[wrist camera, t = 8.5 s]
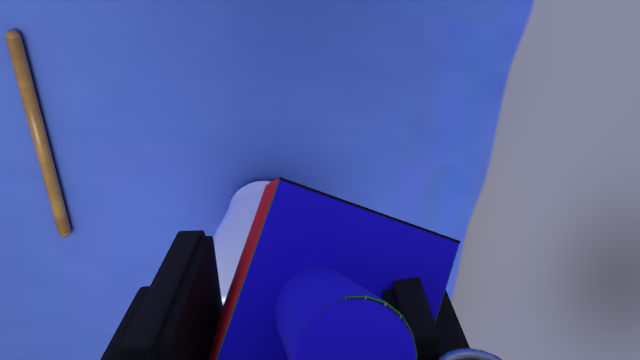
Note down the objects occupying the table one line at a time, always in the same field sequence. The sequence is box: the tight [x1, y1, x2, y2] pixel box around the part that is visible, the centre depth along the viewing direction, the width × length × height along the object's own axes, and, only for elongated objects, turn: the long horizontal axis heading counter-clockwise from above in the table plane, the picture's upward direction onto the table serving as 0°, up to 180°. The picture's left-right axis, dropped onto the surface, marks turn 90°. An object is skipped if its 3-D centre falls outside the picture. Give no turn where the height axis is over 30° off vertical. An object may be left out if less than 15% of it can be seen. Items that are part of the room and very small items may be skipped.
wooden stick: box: [5, 30, 71, 237], centre depth 34 cm, size 15×1×1 cm, turn 2°
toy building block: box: [208, 177, 460, 360], centre depth 10 cm, size 4×4×8 cm
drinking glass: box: [213, 181, 271, 305], centre depth 30 cm, size 7×7×15 cm
